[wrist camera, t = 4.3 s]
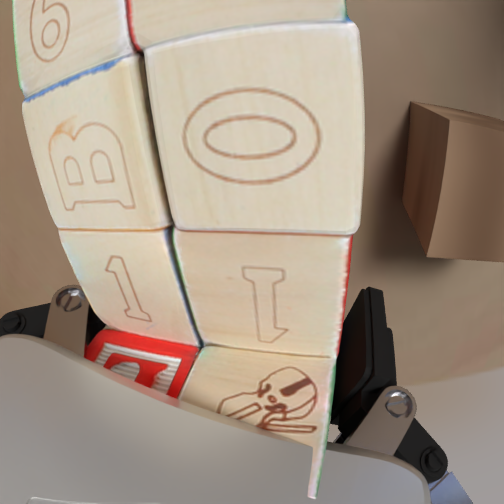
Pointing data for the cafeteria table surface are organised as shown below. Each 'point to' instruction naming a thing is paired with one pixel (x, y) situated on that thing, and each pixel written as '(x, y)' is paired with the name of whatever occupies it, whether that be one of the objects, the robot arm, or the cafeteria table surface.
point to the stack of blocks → (205, 191)
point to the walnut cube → (455, 183)
